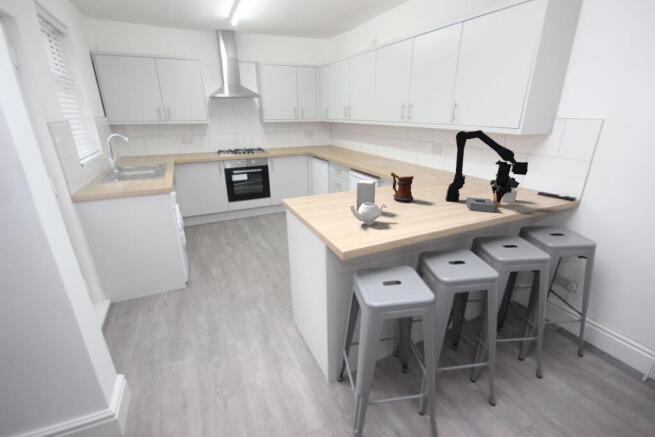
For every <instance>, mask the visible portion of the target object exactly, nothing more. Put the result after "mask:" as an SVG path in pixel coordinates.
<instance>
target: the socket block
mask: <svg viewBox="0 0 655 437" xmlns="http://www.w3.org/2000/svg"><path fill="white" fill-rule="evenodd" d="M465 205H466V207H467V209H468V210H469V211H474V212H475V211H476V212H484V213H495V210H496V208H497V207H496V205H495V204H494V203H493V200H492V199H490V198H484V197H482V198H481V197H480V198H479V197H469V196H468V197H466V201H465Z"/></svg>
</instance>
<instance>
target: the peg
mask: <svg viewBox="0 0 655 437" xmlns="http://www.w3.org/2000/svg"><path fill="white" fill-rule="evenodd" d="M501 200H502V199H501ZM492 202H493V203H494V204H495V205H496V207H495V208H500V207H501V204H502V201H500V202H497V198H496V191H495V194H494V195H493V200H492Z"/></svg>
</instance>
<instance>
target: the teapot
mask: <svg viewBox="0 0 655 437" xmlns="http://www.w3.org/2000/svg"><path fill="white" fill-rule="evenodd" d="M349 208H350V211H351V213H352V214H353V215H354V217H355V218H356V219H357V220H358V221H360V222H363V224H364V225H366V226H367V225H368V226H370V225H373V224H374V222H375V221H376V220H377V219H378V218H379V217H380V216H381V215H382V211H383V208H385V209H386V208H388V207H387V206H386V205H385V204H384V203H381V204H380V205H379V206H378V205H377V203H372V202H365V203H363V204H362V205H361V206H360V208H359V211H357V209H355V206H354V205H351V206H350V207H349Z"/></svg>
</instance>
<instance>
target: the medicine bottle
mask: <svg viewBox="0 0 655 437" xmlns="http://www.w3.org/2000/svg"><path fill="white" fill-rule="evenodd" d="M509 187H511V189H512V191H511V193H506V194H504V196H503V197H502V200H501V203H516V199H517V195H518V190H516V188H514V187H513V186H511V185H509Z"/></svg>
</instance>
